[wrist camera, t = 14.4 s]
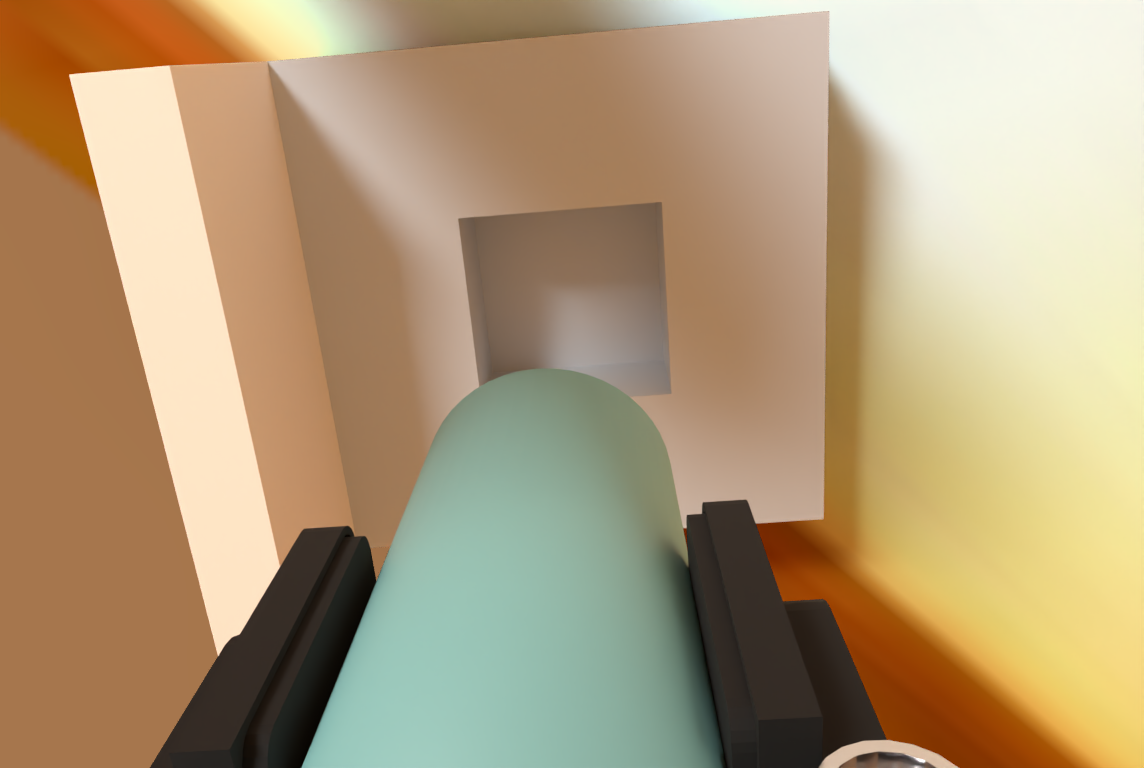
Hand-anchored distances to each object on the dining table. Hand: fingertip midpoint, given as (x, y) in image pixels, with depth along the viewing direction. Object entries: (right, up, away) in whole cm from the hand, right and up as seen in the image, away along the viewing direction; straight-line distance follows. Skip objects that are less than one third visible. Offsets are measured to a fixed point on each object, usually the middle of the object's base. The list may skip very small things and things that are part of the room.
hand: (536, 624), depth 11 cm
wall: (-8, +6, +18) cm, 21 cm away
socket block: (0, +6, +18) cm, 19 cm away
